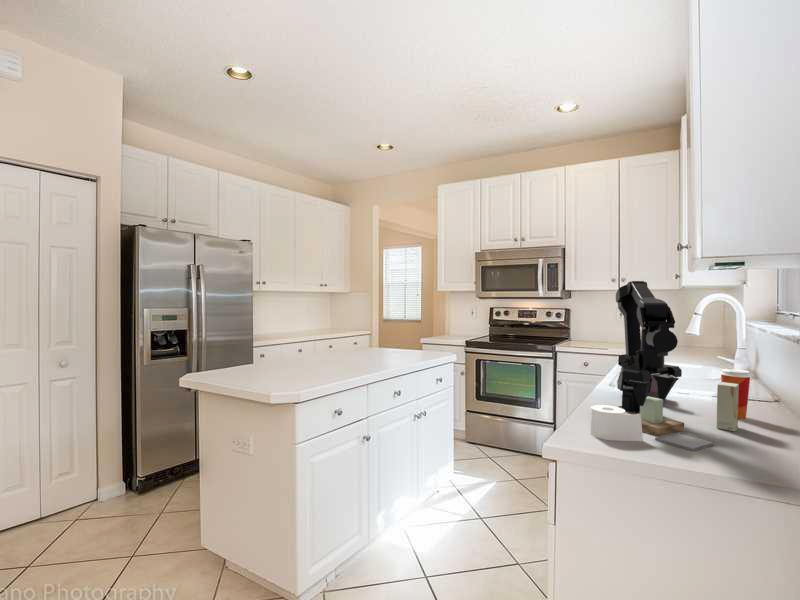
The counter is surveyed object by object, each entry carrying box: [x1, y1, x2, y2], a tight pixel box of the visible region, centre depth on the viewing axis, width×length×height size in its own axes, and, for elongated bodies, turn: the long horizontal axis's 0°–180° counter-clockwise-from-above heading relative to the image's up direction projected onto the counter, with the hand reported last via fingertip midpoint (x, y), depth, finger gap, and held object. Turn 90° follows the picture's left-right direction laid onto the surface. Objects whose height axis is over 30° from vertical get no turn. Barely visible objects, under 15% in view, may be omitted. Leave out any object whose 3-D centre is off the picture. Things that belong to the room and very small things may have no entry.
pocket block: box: [633, 412, 685, 437], centre depth 124 cm, size 12×12×2 cm
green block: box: [639, 396, 664, 424], centre depth 124 cm, size 4×4×8 cm
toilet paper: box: [589, 404, 644, 442], centre depth 117 cm, size 8×11×7 cm
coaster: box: [654, 432, 714, 452], centre depth 112 cm, size 9×9×1 cm
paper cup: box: [719, 368, 752, 420], centre depth 136 cm, size 8×8×14 cm
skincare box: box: [716, 382, 739, 432], centre depth 125 cm, size 6×4×12 cm
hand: (651, 403), depth 124 cm, fingers open, 9 cm apart
